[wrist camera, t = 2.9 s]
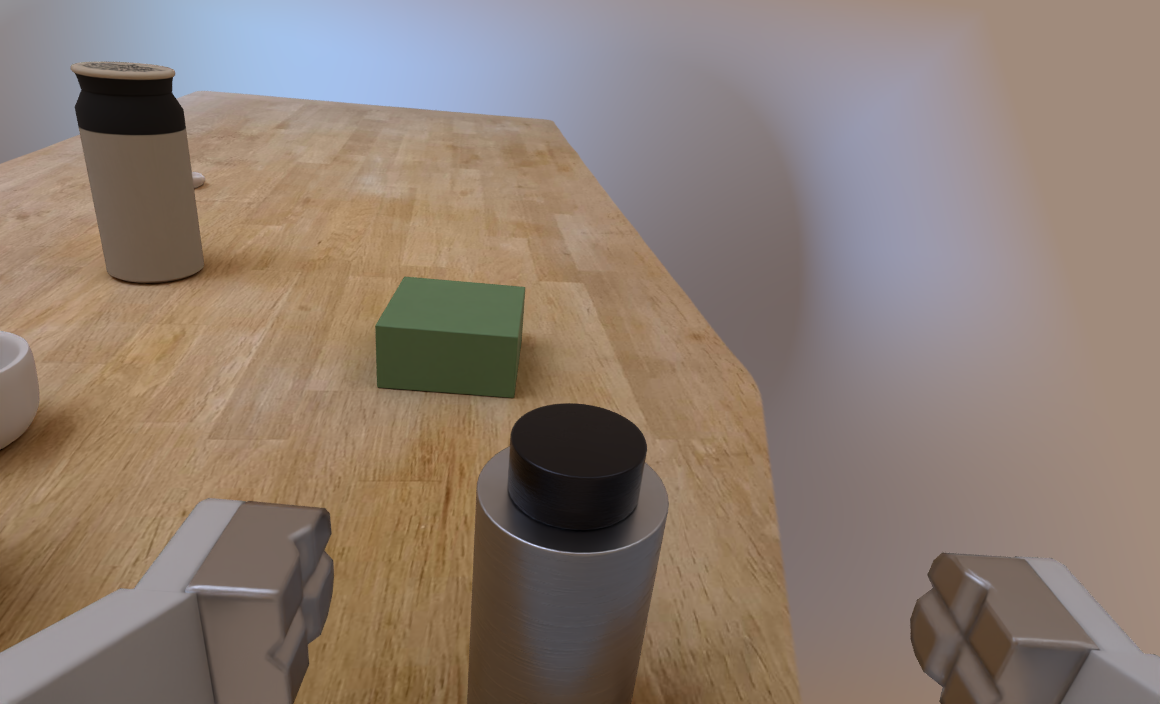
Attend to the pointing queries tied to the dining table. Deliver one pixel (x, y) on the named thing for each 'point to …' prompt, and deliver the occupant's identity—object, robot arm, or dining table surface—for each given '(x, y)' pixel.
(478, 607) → the flask
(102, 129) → the travel mug
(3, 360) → the teacup
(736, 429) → the dining table surface
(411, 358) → the green block
